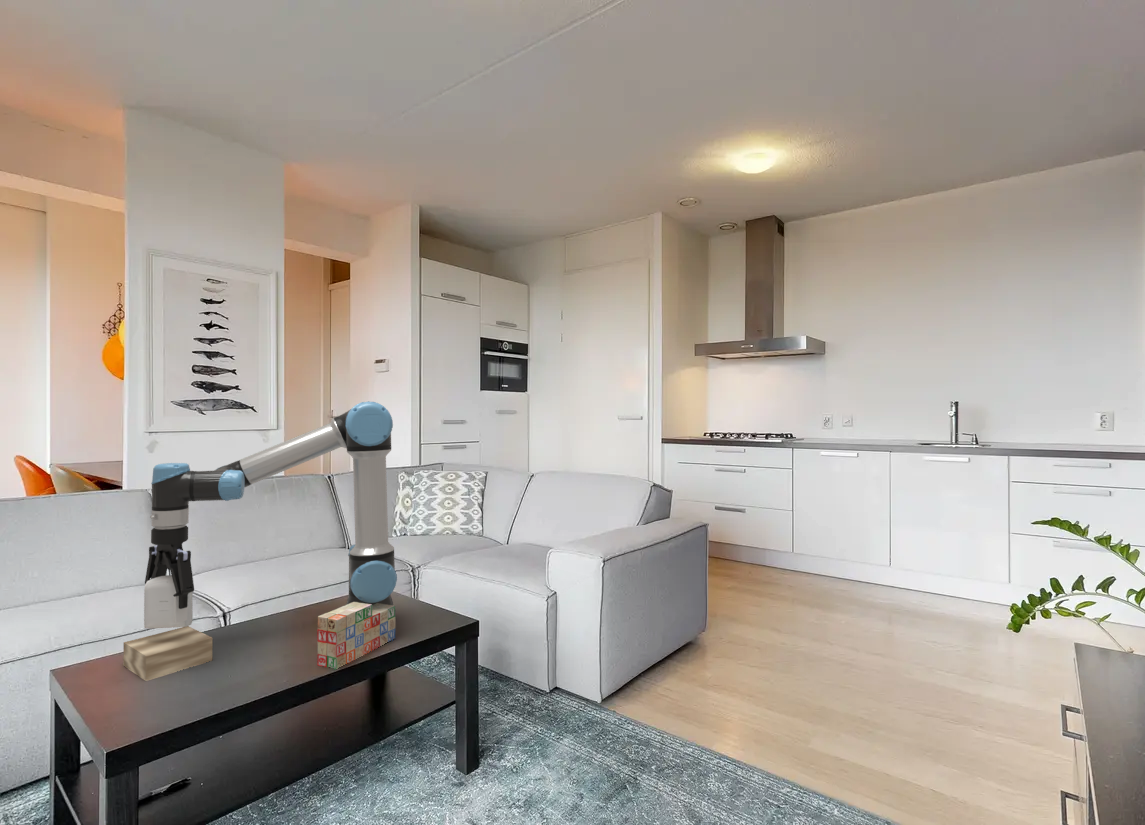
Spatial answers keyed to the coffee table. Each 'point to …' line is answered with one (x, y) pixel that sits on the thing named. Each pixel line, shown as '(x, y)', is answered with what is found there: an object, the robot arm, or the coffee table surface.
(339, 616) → the stack of blocks
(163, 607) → the photo printer
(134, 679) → the coffee table surface
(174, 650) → the birch box
